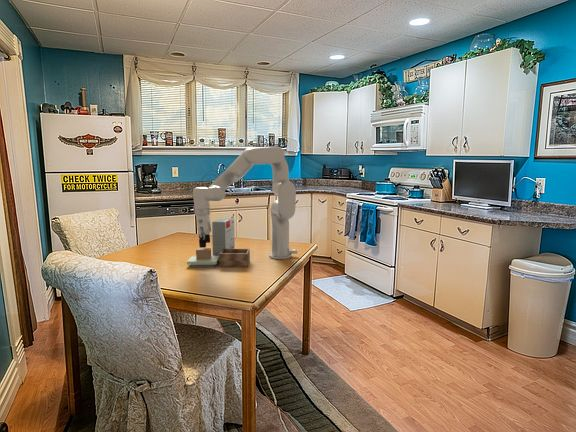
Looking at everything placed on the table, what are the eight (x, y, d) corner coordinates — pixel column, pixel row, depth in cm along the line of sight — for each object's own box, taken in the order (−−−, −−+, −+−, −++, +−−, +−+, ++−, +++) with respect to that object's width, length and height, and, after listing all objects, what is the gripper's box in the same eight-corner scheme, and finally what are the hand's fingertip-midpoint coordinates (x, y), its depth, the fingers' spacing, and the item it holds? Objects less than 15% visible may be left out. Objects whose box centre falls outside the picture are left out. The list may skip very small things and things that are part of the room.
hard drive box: (225, 258, 200) (224, 222, 196) (212, 257, 201) (211, 221, 198) (235, 251, 215) (234, 217, 211) (222, 250, 216) (221, 217, 213)
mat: (217, 261, 193) (217, 260, 193) (213, 267, 183) (213, 266, 183) (194, 261, 193) (194, 260, 193) (189, 267, 183) (189, 266, 183)
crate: (249, 261, 193) (249, 248, 192) (247, 267, 183) (247, 253, 182) (223, 261, 193) (222, 248, 192) (219, 267, 183) (219, 253, 182)
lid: (220, 260, 193) (219, 246, 192) (216, 266, 183) (216, 251, 182) (192, 260, 193) (191, 246, 192) (187, 266, 183) (186, 251, 182)
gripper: (206, 214, 175) (208, 249, 178) (213, 208, 192) (215, 240, 195) (190, 215, 175) (193, 249, 178) (199, 209, 192) (201, 241, 195)
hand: (205, 244), depth 187 cm, fingers open, 9 cm apart
